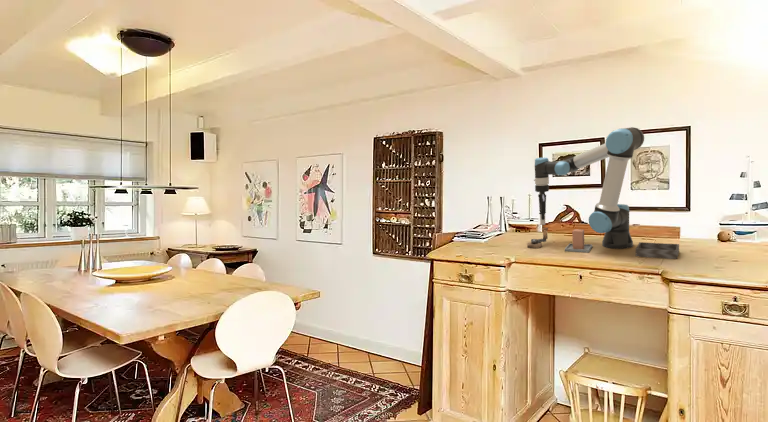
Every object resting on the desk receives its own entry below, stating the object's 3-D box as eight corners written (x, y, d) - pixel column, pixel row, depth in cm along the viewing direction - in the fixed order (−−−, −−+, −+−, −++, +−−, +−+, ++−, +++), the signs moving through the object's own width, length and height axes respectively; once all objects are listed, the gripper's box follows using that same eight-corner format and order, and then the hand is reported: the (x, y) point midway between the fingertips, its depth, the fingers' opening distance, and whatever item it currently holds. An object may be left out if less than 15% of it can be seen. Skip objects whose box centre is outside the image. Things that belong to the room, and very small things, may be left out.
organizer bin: (679, 252, 240) (679, 244, 240) (677, 259, 229) (677, 250, 229) (639, 249, 250) (639, 242, 250) (635, 256, 239) (635, 248, 239)
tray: (592, 247, 263) (592, 244, 263) (588, 252, 253) (588, 249, 253) (569, 246, 270) (569, 243, 270) (564, 251, 260) (564, 248, 260)
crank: (533, 243, 273) (532, 230, 271) (529, 242, 276) (529, 229, 275) (549, 241, 275) (549, 228, 273) (546, 240, 278) (545, 227, 277)
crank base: (525, 247, 274) (525, 244, 274) (529, 244, 280) (529, 241, 280) (539, 248, 270) (539, 245, 269) (543, 245, 276) (543, 241, 276)
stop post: (584, 247, 262) (584, 229, 261) (582, 249, 258) (582, 231, 256) (574, 246, 265) (574, 229, 263) (572, 249, 261) (572, 231, 259)
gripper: (533, 183, 285) (534, 222, 289) (536, 186, 272) (537, 227, 276) (547, 182, 283) (547, 222, 287) (550, 185, 271) (551, 226, 275)
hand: (542, 224), depth 282 cm, fingers closed
